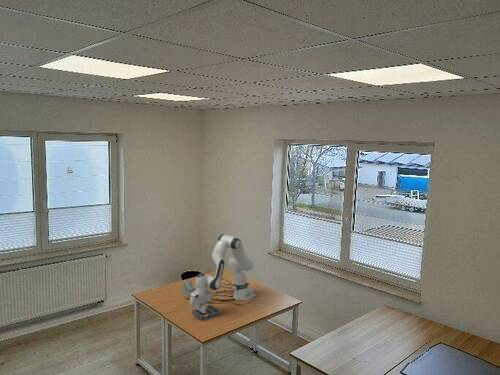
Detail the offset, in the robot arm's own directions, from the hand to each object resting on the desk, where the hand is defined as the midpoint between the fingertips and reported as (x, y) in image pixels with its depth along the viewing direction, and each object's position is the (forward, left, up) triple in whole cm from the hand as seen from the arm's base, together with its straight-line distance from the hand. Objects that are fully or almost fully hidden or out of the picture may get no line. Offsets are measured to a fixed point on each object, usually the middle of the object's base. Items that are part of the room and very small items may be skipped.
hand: (200, 308), depth 333 cm
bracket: (-12, -29, -8) cm, 32 cm away
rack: (-6, 0, -8) cm, 10 cm away
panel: (0, 0, -3) cm, 3 cm away
